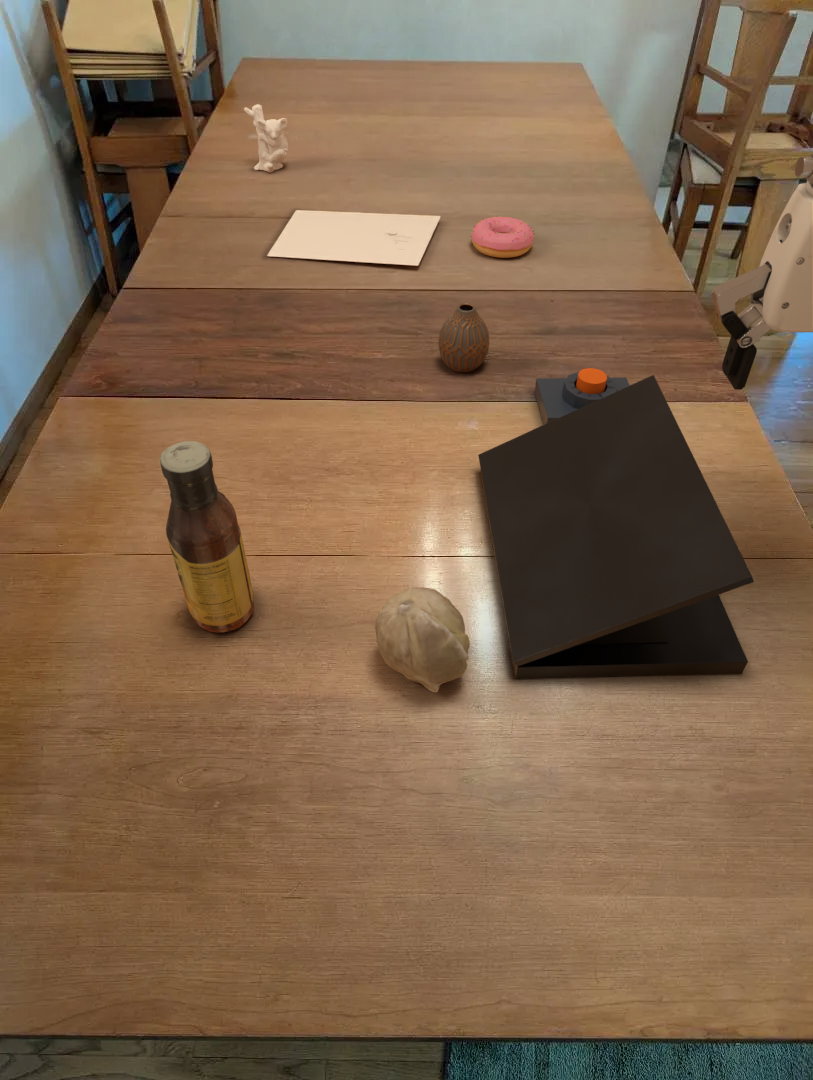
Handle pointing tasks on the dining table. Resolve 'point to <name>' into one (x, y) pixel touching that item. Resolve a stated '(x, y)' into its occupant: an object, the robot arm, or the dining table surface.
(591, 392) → the button
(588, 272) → the dining table surface
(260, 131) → the koala figurine
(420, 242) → the paper sheet
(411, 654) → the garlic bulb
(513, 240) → the doughnut
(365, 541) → the dining table surface
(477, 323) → the vase
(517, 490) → the laptop screen
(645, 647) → the laptop
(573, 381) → the switch box
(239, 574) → the sauce bottle
